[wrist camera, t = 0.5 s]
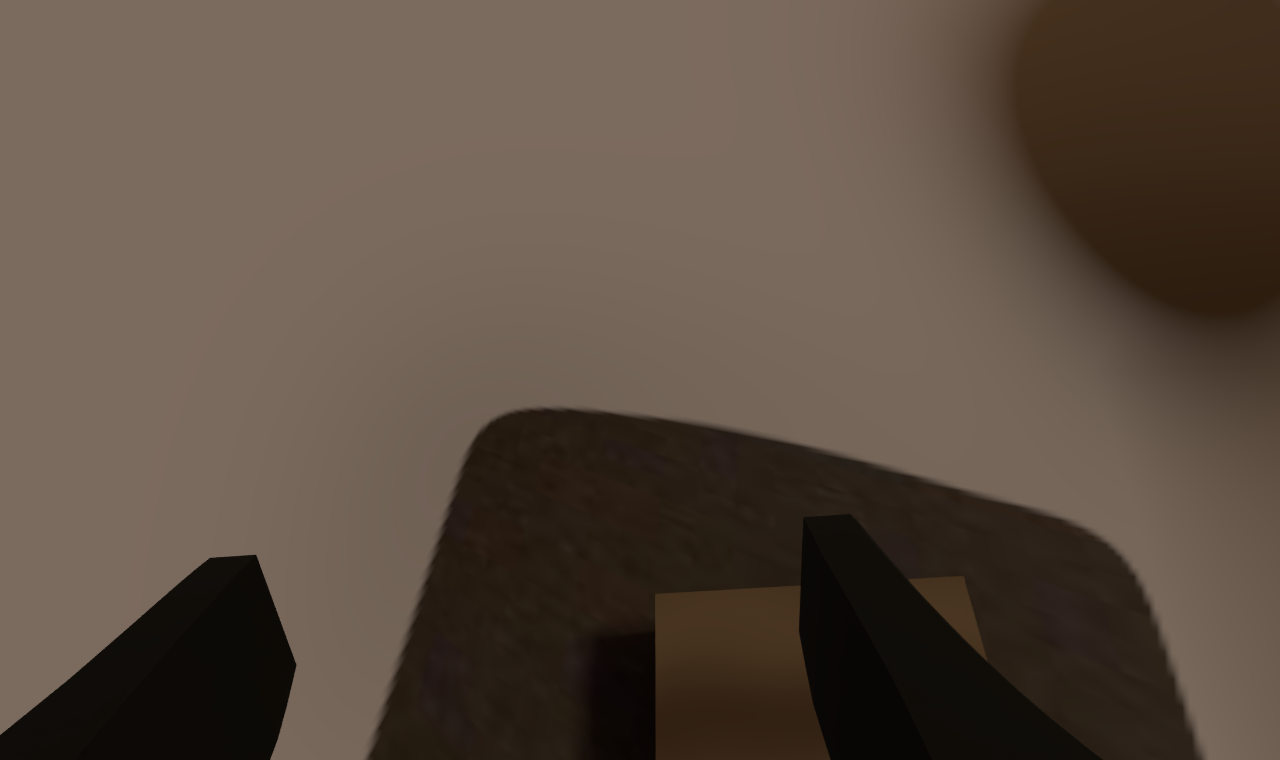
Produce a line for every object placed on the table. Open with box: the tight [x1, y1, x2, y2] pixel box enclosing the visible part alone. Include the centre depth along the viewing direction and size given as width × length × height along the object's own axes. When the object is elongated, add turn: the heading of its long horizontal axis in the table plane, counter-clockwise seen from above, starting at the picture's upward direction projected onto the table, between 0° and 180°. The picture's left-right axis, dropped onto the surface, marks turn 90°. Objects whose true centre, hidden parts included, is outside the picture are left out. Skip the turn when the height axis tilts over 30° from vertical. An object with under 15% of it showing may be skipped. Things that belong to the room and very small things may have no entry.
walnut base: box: [655, 576, 987, 760], centre depth 26 cm, size 10×10×2 cm
